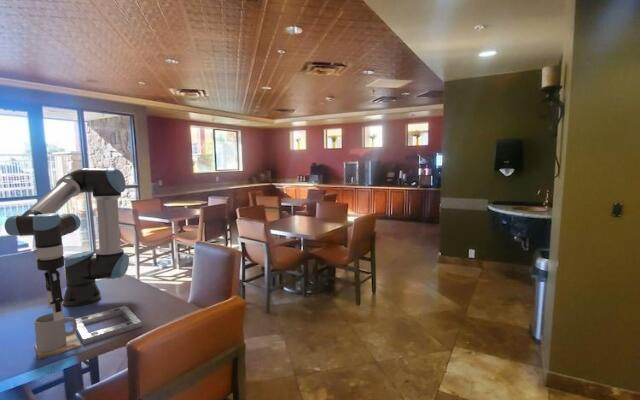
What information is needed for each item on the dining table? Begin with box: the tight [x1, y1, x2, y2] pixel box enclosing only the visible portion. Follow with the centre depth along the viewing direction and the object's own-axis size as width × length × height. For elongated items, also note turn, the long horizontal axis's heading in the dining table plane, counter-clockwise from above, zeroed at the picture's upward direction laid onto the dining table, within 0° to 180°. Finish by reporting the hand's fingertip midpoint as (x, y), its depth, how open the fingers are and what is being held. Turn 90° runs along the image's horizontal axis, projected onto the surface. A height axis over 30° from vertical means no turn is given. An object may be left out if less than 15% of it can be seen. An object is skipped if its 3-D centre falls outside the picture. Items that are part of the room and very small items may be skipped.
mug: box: [34, 312, 77, 353], centre depth 123 cm, size 12×8×11 cm
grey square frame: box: [72, 305, 143, 345], centre depth 140 cm, size 22×20×2 cm
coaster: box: [34, 332, 82, 360], centre depth 124 cm, size 12×12×1 cm
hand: (55, 313), depth 123 cm, fingers open, 13 cm apart
